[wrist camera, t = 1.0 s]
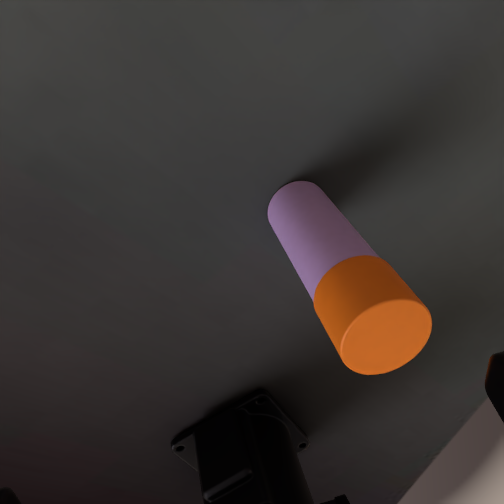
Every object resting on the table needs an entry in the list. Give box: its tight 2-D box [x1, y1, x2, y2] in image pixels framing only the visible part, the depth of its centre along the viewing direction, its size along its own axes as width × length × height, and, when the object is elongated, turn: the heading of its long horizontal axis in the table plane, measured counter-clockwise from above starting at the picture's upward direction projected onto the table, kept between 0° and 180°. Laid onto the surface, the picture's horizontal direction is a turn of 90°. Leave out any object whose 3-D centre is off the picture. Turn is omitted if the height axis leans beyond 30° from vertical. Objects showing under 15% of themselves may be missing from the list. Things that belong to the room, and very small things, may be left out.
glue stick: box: [268, 181, 432, 375], centre depth 18 cm, size 3×3×9 cm
